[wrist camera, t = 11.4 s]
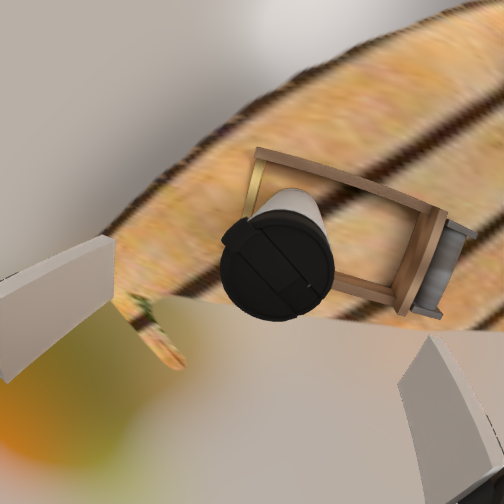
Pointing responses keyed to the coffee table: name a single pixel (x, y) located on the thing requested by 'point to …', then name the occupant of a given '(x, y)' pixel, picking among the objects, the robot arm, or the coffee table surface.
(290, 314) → the travel mug
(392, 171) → the coffee table surface
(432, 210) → the bay
